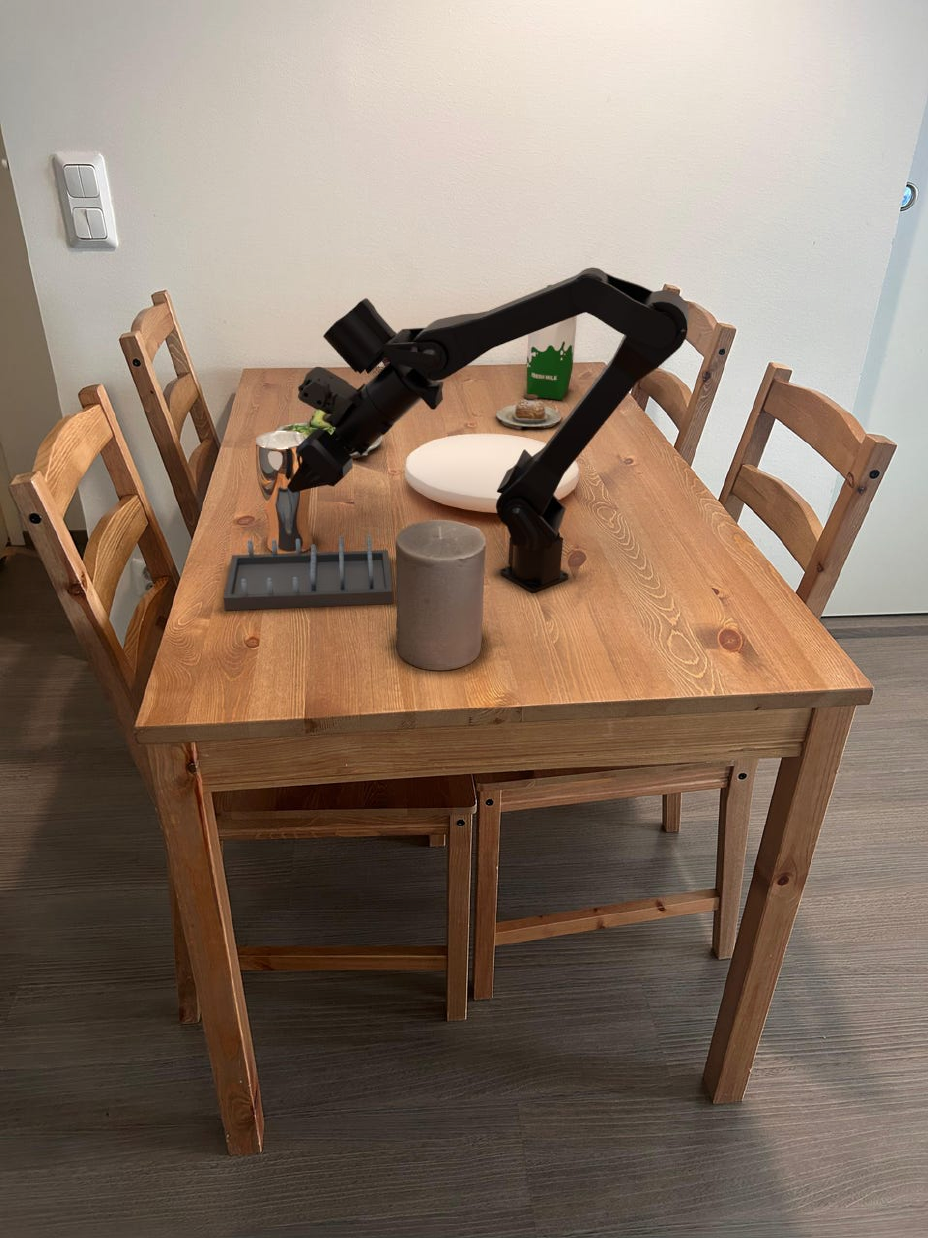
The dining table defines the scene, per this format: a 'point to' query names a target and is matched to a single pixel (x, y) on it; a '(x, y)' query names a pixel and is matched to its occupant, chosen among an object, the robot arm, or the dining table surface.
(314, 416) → the salad plate
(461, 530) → the pillar candle
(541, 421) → the pastry
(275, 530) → the beer glass
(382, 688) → the dining table surface
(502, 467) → the plate
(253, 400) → the dining table surface
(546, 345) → the green white milk carton
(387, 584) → the rack
